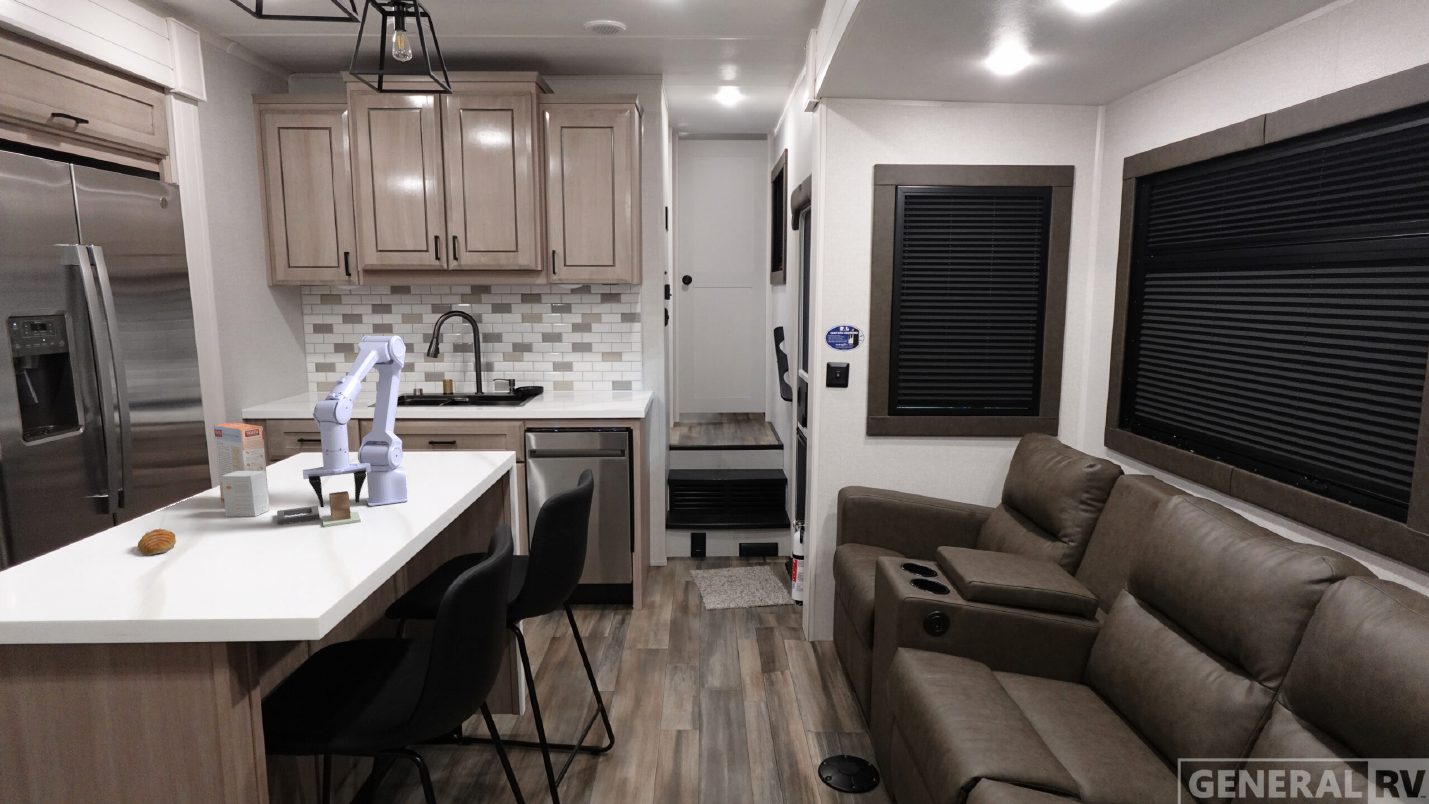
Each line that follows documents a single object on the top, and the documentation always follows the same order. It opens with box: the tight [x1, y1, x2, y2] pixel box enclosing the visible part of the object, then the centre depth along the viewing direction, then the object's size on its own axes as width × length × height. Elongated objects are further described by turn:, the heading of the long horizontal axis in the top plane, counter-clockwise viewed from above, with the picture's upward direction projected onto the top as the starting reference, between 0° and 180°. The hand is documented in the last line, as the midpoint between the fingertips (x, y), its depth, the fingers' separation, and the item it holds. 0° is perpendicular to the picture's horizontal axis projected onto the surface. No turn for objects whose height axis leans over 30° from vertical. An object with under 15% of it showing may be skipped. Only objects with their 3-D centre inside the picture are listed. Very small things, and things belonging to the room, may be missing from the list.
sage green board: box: [321, 511, 362, 528], centre depth 182 cm, size 8×8×1 cm
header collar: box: [276, 505, 320, 525], centre depth 185 cm, size 9×9×1 cm
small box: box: [221, 471, 271, 517], centre depth 188 cm, size 8×6×10 cm
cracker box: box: [213, 422, 269, 502], centre depth 198 cm, size 14×6×21 cm, turn 58°
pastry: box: [137, 528, 177, 556], centre depth 162 cm, size 9×7×4 cm
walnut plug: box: [328, 490, 351, 521], centre depth 182 cm, size 4×4×6 cm
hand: (339, 503), depth 182 cm, fingers open, 7 cm apart
